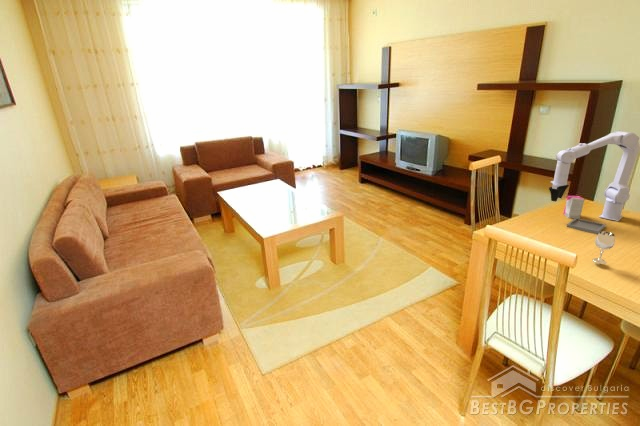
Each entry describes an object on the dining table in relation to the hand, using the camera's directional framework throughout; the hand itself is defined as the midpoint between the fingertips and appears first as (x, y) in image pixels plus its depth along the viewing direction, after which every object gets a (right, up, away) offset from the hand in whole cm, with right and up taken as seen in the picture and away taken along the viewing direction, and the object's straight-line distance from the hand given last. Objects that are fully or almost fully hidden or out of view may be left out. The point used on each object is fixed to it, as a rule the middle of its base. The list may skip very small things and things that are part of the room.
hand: (556, 199), depth 177 cm
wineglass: (-12, -27, -42) cm, 51 cm away
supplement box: (+10, -10, +3) cm, 14 cm away
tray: (+8, -14, -10) cm, 19 cm away
